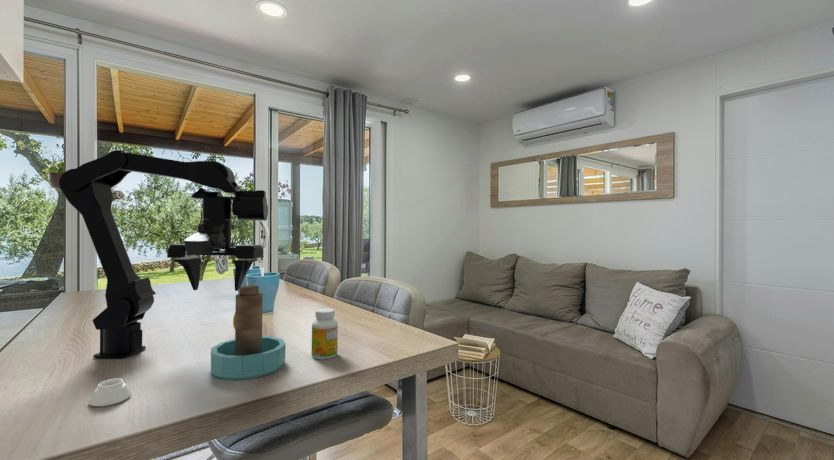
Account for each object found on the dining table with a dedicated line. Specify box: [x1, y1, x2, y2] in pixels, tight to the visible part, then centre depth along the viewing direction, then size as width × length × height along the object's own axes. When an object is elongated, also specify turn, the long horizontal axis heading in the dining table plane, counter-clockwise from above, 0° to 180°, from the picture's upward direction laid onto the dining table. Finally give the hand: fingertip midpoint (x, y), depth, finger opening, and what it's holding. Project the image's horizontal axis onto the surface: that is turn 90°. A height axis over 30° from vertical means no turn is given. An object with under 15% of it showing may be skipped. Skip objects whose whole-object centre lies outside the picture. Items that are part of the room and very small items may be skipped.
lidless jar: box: [88, 378, 132, 408], centre depth 59 cm, size 5×3×5 cm
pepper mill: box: [234, 285, 264, 356], centre depth 73 cm, size 5×5×14 cm
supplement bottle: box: [311, 307, 339, 360], centre depth 80 cm, size 5×5×10 cm
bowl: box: [210, 335, 286, 381], centre depth 73 cm, size 13×13×4 cm
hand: (216, 290), depth 83 cm, fingers open, 9 cm apart
